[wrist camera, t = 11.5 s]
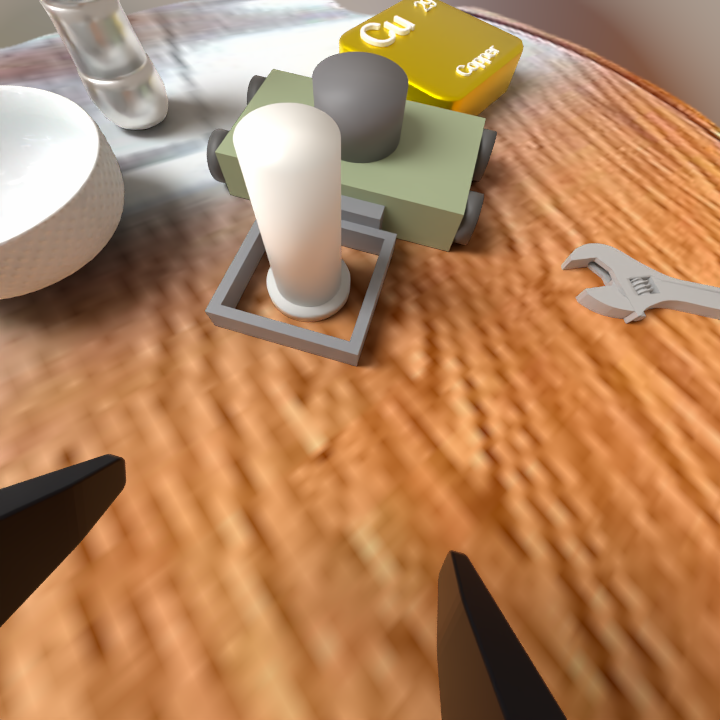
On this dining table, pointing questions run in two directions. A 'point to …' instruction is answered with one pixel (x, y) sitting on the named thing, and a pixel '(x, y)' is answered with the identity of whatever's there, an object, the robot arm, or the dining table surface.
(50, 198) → the cereal bowl
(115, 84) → the plastic bottle
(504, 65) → the element tile
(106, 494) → the robot arm
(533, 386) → the dining table surface
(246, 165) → the white cylindrical piece
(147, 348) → the dining table surface
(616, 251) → the adjustable wrench
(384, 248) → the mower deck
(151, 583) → the dining table surface
